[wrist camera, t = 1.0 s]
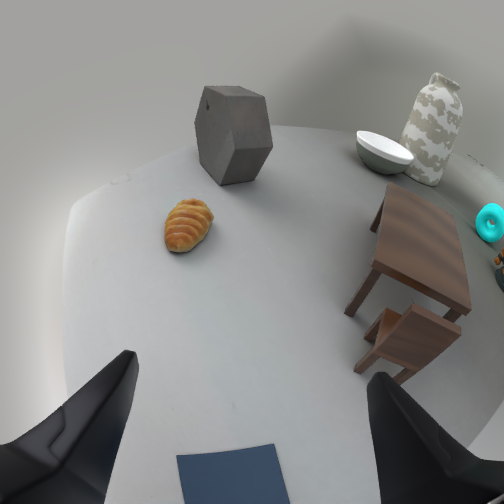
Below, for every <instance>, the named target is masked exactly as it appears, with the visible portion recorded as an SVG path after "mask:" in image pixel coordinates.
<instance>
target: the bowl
mask: <svg viewBox="0 0 504 504" xmlns="http://www.w3.org/2000/svg"><path fill="white" fill-rule="evenodd" d="M356 147H357V152H358V153H359V155H360V157H361V158H362V160H363V161H364V162H365V164H366V165H367V166H368V167H369V168H371V169H372V170H374V171H376V172H378V173H381V174H386V175H388V174H395V173H400V172H403V171H404V170H405V169H406V168H407V167H408V165H409V163H410V162H411V161H412V160H413V159H414V156H413V155H412V154H411V153H410V152H409V151H408V150H407V149H406V148H404V147H403V146H401V145H400V144H398V143H396V142H394V141H392V140H390V139H388V138H386V137H383V136H381V135H378V134H375V133H372V132H367V131H358V132H357V142H356Z"/></svg>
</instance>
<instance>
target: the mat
mask: <svg viewBox="0 0 504 504" xmlns="http://www.w3.org/2000/svg"><path fill="white" fill-rule="evenodd" d="M177 462H178V468H179V474H180V480H181V485H182V490H183V495H184V500H185V504H290V502H289V499H288V495H287V491H286V488H285V484H284V480H283V477H282V473H281V469H280V465H279V462H278V458H277V454H276V450H275V446H274V444H270V445H265V446H259V447H253V448H247V449H241V450H234V451H226V452H217V453H207V454H195V455H177Z"/></svg>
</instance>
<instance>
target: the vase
mask: <svg viewBox="0 0 504 504" xmlns="http://www.w3.org/2000/svg"><path fill="white" fill-rule="evenodd" d="M435 79H436V82H435V84H434V81H435ZM460 88H461V87H460V85H459V84H457V83H456V82H454V81H452V80H450V79H448V78H446V77H444V76H442V75H441V74H440V73H438V72H436V73H434V74H433V75H432V77H431V79H430V81H429V85H427V86H425V87H424V88H423V89H422V90H421V91H420V92H419V94H418V97H417V99H416V102H415V104H414V107H413V109H412V112H411V114H410V116H409V119H408V121H407V124H406V126H405V129H404V131H403V134H402V136H401V139H400V141H399V144H400V145H401V146H403V147H404V148H406V149H407V150H408V151H409V152H410V153H411V154H412V155H413V156H414V159H413V160H412V161H411V162H410V163H409V165H408V167H407V168H406V169H405V170H404V171H403V173H405V174H406V175H408V176H409V177H411V178H413V179H415V180H416V181H418V182H421V183H423V184H426V185H429V186H436V185H437V184H438V182H439V180H440V178H441V176H442V173H443V171H444V169H445V166H446V164H447V161H448V159H449V156H450V154H451V151H452V148H453V145H454V142H455V139H456V136H457V133H458V130H459V127H460V123H461V120H462V115H463V110H462V105H461V103H460V100H459V99H458V97H457V91H458V90H459V89H460Z"/></svg>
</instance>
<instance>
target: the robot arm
mask: <svg viewBox="0 0 504 504" xmlns="http://www.w3.org/2000/svg"><path fill="white" fill-rule="evenodd" d="M138 372H139V364H138V359H137V354H136V352H134V351H130V350H124V351H123V352H122V353H120V354H119V355H118V356H117V357H116V358H115V359H114V360H112V361H111V362H110V363H109V364H108V365H107V366H106V367H104V368H103V369H102V370H101V371H100V372H99V373H98V374H96V375H95V376H94V377H93V378H92V379H91V380H90V381H88V382H87V383H86V384H85V385H84V386H83V387H82V388H81V389H79V390H78V391H77V392H76V393H75V394H74V395H73V396H72V397H70V398H69V399H68V400H67V401H66V402H65V403H64V404H63V405H62V406H60V407H59V408H58V409H57V410H56V411H55V412H54V413H52V414H51V415H50V416H48V417H47V418H46V419H45V420H43V421H42V422H41V423H39V424H38V425H37V426H35V427H34V428H32V429H31V430H29V431H28V432H26V433H25V434H23V435H22V436H20V437H19V438H17V439H16V440H14V441H12V442H10V443H7V444H4V445H0V504H104V501H105V497H106V493H107V489H108V485H109V481H110V477H111V473H112V470H113V466H114V462H115V459H116V455H117V452H118V449H119V445H120V442H121V438H122V435H123V432H124V429H125V425H126V422H127V419H128V416H129V413H130V410H131V406H132V401H133V396H134V391H135V386H136V382H137V377H138ZM367 399H368V411H369V422H370V428H371V434H372V439H373V445H374V452H375V458H376V465H377V472H378V480H379V488H380V497H381V504H504V461H492V460H483V459H480V458H478V457H476V456H475V455H473V454H472V453H471V452H470V451H468V450H467V449H466V448H465V447H463V446H462V445H461V444H460V443H459V442H457V441H456V440H455V439H454V438H453V437H452V436H451V435H449V434H448V433H447V432H446V431H445V430H444V429H443V428H442V427H441V426H439V424H438V423H437V422H436V421H435V420H434V419H433V418H432V417H431V416H430V415H429V414H428V413H427V412H426V411H425V410H424V409H423V408H422V407H421V406H420V405H419V404H418V403H417V402H416V401H415V400H414V399H413V398H412V397H411V396H410V395H409V394H408V393H407V392H406V391H405V390H404V389H403V388H402V387H401V386H400V385H399V384H398V383H397V382H396V381H395V380H394V379H393V378H392V377H391V376H389V375H388V374H387V373H386V372H377V373H375V374H374V376H373V377H372V379H371V380H370V382H369V383H368V385H367Z"/></svg>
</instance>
